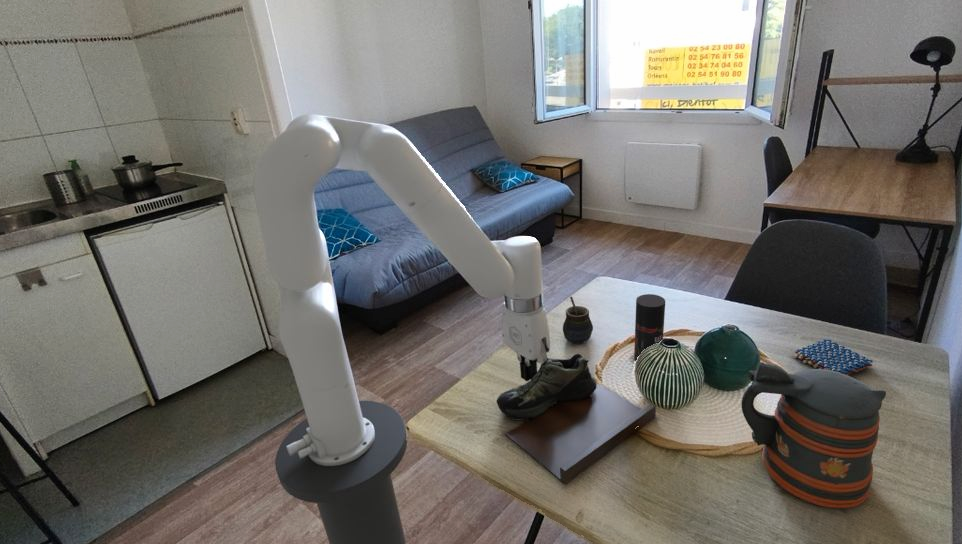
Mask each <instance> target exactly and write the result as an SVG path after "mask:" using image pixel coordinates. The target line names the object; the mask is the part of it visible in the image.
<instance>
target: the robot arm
mask: <svg viewBox="0 0 962 544" xmlns="http://www.w3.org/2000/svg"><path fill="white" fill-rule="evenodd" d="M335 169H338V170H346V171H356V172H366V173H367V174H368V176H369V177H370V178H371V179H372V180H373V181H374V182H375V183H376V185H377V186H378V187H379V188H380V189H381V190H382V191H383V193H384V194H385V195H386V196H388V198H389V199H390V200H391V201H392V202H393V203H394V204H395V205H396V207H398V209H399V210H400V211H401V212H402V213H403V215H405V216H406V218H407V219H408V220H409V221H410V222H411V224H413V225H414V226H415V228H416V229H417V230H418V231H419V232H420V233H421V235H422V236H423V237H424V238H425V239H426V240H427V241H428V242H430V244H431V245H433V246H434V247H435V249H437V250H438V251H439V252H440V253H441V254H442V255H443V257H444V258H445V259H446V260H447V261H448V262H449V263H450V265H451V266H453V268H454V269H455V270H456V271H457V272H458V273H459V275H461V276H462V278H463V279H464V280H465V282H467V283H468V285H469V286H470V287H471V288H472V289H473V290H474V291H475V292H476V293H477V294H478V295H479V296H481V297H483V298H485V299H490V300H493V299H494V300H495V299H499V298H503V297H504V302H503V305H502V310H501V337H502V338H501V339H502V342H503V344H504V345H505V347H507V348H509V349H511V350H512V351H514V352H516V358H517V361H518V362H519V370H520V378H521V379H522V380H524V381H525V382H529V381H530V380H531V379H532V377H533V376H534V375H536V373H537V372H538V364H540V365H541V364H543V363H545V362H547V361H548V359H547V358H548V355H547V353H549V352H550V349H551V338H550V337H551V336H550V329H549V321H548V317H547V312H546V308H545V307H544V283H543V264H542V263H543V262H542V248H541V243H540V242H539V240H537V239H536V238H535V237H533V236H528V235H518V236H517V235H516V236H512V237H509V238H507V239H503V240H502V239H501V240H490V238H489V237H488V236H487V235H486V234H485V232H484V231H483V230H482V229H481V227H480V226H479V225H478V223H476V221H475V220H474V219H473V217H472V216H471V215H470V214H469V212H468V211H467V209H466V207H465V206H464V205H463V204H462V203H461V201H460V200H459V199H458V197H457V196H456V195H455V194H454V192H453V191H452V190H451V189H450V188H449V186H448V185H447V184H446V183H445V182H444V181H443V180H442V178H441V177H440V176H439V174H438V172H436V171H435V170H434V168H433V167H432V166H431V164H430V163H429V162H428V160H426V159H425V157H424V156H423V155H422V154H421V152H419V150H418V149H417V147H415V146H414V144H413V143H412V142H411V141H410V140H409V139H408V137H407V136H406V135H405V134H404V133H402V132H401V131H399V130H398V129H397V128H395V127H393V126H391V125H388V124H384V123H376V122H368V121H359V120H353V119H348V118H347V119H346V118H342V117H341V118H340V117H334V116H327V115H321V114H315V113H314V114H313V113H309V114H302V115H300V116H297V117H295V118H294V119H292V121H290V122H289V124H288V125H287V127H286V128H285V130H284V131H283V132H281V133H280V134H279V135H277V136H276V137H275V138H274V139H272V141H270V142H269V143H268V144H267V146H266V147H264V149H263V151H262V152H261V154H260V155H259V157H258V158H257V161H256V163H255V167H254V171H253V177H252V187H253V194H254V200H255V205H256V211H257V216H258V221H259V227H260V232H261V237H262V242H263V246H264V250H265V255H266V256H265V257H266V258H265V259H266V264H267V269H268V271H269V274H270V276H271V278H272V279H273V280H274V281H275V282H276V283H277V285H278V289H279V293H280V300H281V301H280V307H279V314H278V315H279V316H278V334H279V338H280V342H281V345H282V348H283V350H284V352H285V354H286V357H287V359H288V362H289V365H290V368H291V370H292V375H293V378H294V380H295V383H296V386H297V390H298V393H299V397H300V399H301V403H302V407H303V410H304V413H305V416H306V417H305V418H307V420H308V423H309V427H308V428H307V429H306V430H307V435H305V436H303V439H301V440H299V441H297V442H294V443H292V444H290V445H288V446H286V447H287V450H288V453H289V455H290V456H291V455H293V454H295V453H297V452H298V455H299V457H300V459H301V458H303V457H305V456H307V455H309V457H310V458H311V460H312V461H313V462H315V463H317V464H319V465H323V466H337V465H342V464H346V463H348V462H351V461H353V460H355V459H357V458H358V457H360V456H361V455H362V454H364V453H365V452H366V451H367V450H368V449H369V447H370V446H371V445H372V443H373V441H374V437H375V431H374V427H373V425H372V423H371V422H370V421H369V420H367V419H366V418H363V416H362V412H361V408H360V404H359V401H360V399H359V396H358V392H357V387H356V383H355V380H354V374H353V371H352V367H351V363H350V359H349V355H348V352H347V348H346V343H345V340H344V335H343V330H342V326H341V321H340V316H339V315H340V314H339V310H338V309H339V308H338V302H337V295H336V290H335V285H334V279H333V274H332V267H331V263H330V257H329V251H328V245H327V244H328V243H327V240H326V237H325V235H324V233H323V231H322V230H321V229H320V224H319V220H318V211H317V205H316V200H315V189H316V187H317V185H318V183H319V181H321V179H323V178H324V177H325V176H327V175H328V174H330V173H331V172H333V171H334V170H335ZM306 447H307V448H306Z"/></svg>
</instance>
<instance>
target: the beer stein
mask: <svg viewBox="0 0 962 544" xmlns="http://www.w3.org/2000/svg"><path fill="white" fill-rule="evenodd" d="M747 377H748V379H749V380H750V381H751V384H750V385H749V386H748V387H747V388H746V389H745V391H744V393H743V395H742V397H741V412H742V415H743V417H744V420H745V421H746V423H747V425H748V427H750V429H751V430H752V431H751V439H752V440H753V442H754V443H756V445H757V446H758V447H759V446H763V449H762V452H761V458H762V459H761V460H762V461H763V465H764V467H765V469H766V472H767V473H768V475H769V477H771V479H772V480H773V481H774V482H775V483H776V484H778V485H779V486H780V487H781V488H782V489H783V490H784V491H786V492H787V493H788V494H790V495H791V496H794V497H796V498H798V499H799V500H802V501H804V502H807V503H810V504H813V505H816V506H821V507H825V508H829V509H839V510H840V509H850V508H853V507H854V508H855V507H857V506H859V505H862V503H864V502H865V501H866V500H867V498H868V497H869V495H870V492H871V484H872V481H873V475H874V474H873V473H874V465H873V455H874V453H873V452H874V449H875V448H876V446H877V444H878V439H879V431H880V420H881V419H880V418H881V416H880V410H881V408H882V405H883V400H884V399H885V398H886V396H887V391H886V390H884V389H874V388H872V387H871V386H869V385H868V384H866V383H864V382H862V381H861V380H859V379H856V378H854V377H852V376H850V375H845V374H842V373H839V372H835V371H831V370H824V369H819V368H807V369H803V370H799V371H796V372H794V373H788V371H786V370H785V369H783V368H782V367H780V366H779V365H775V364H772V363H771V364H770V363H766V362H763V361H760V362H758V364H757V366H756V370H749V371H748V375H747ZM763 393H764V394H773V395H780V397H779V399H778V401H777V404H776V408H775V410H774V415H773V414H766V413H763V412H760V411H759V410H757V409H756V408H755V405H754V402H755V399H756V397H757V396H758V395H760V394H763Z"/></svg>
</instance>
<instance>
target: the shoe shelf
mask: <svg viewBox="0 0 962 544" xmlns="http://www.w3.org/2000/svg"><path fill="white" fill-rule="evenodd" d="M656 410H657V405H655V404H653V403H651V402H650V403H649V404H647V405H646V406H644V407H643V408H641V407H639V406H637V405H635V404H634V403H632V402H630V401H628V400H627V399H625V398H623V397H622V396H620V395H619V394H616V393H614V392H613V391H611V390H610V389H608V388H606V387H604V386H603V385H601V384H600V383H598V382H596V389H595V391H594V392H593V393H592V394H591V395H590V396H588V397H586V398H583V399H579V400H575V401H559V402H555V403H553V404H552V405H551V406H550V407H549V408H548V409H547V410H546V411H545V412H543V413H542V414H541V415H540V416H538V417H534V418H530V419H526V420H525V421H523V422H522V423H520V424H519V425H517V426H515V427H514V428H512V429H510V430H509V431H507V432H506V433H505V436H506V437H507V438H508V439H510V440H511V441H512V442H513V443H514V444H516V445H517V446H518V447H520V448H521V449H522V450H523V451H524V452H525V453H527V454H528V455H529V456H530V457H531V458H533V459H534V460H535V461H536V462H537V463H538V464H540V465H541V466H542V467H543V468H544V469H546V470H547V471H548V472H549V473H550V474H552V475H553V476H554V477H556V479H558V480H559V481H560V482H562V484H564V485H565V486H566V485H567V484H569V483H570V482H572V480H574V479H575V478H577V477H578V476H579V475H581V474H582V473H583V472H585V471H586V470H588V469H589V468H590V467H592V466H593V465H595V463H597V462H598V461H599V460H601V459H602V458H604V457H605V456H606V455H608V454H609V453H611V452H612V451H613V450H615V449H616V448H617V447H619V446H620V445H621V444H623V443H624V442H625V441H627V440H628V439H630V438H631V437H632V436H634V435H635V434H636V433H638V432H639V431H640V430H642V429H643V428H645V427H646V426H647V425H648V424H649V423H651V422H652V421H654V420H655V419H656V412H657V411H656ZM637 426H639V427H637ZM636 427H637V428H636ZM635 428H636V429H635Z"/></svg>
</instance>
